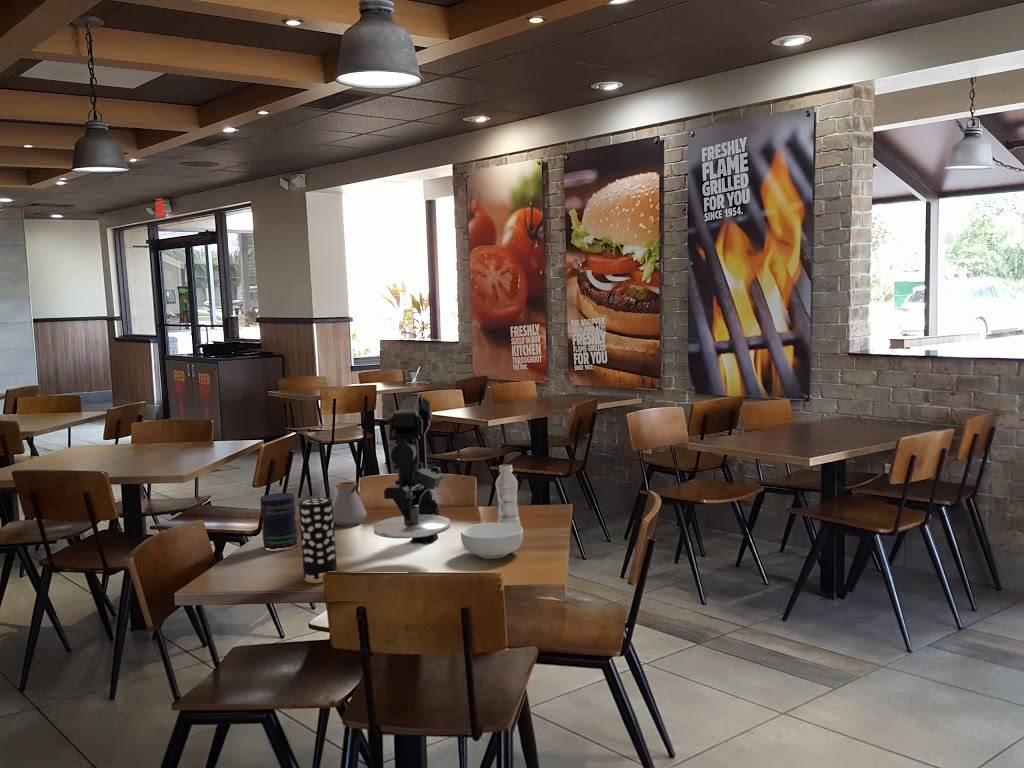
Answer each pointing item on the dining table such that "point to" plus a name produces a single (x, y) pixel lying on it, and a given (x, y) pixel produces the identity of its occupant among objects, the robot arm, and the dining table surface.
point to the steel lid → (412, 525)
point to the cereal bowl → (492, 539)
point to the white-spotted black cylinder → (317, 537)
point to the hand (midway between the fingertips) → (411, 518)
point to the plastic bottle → (507, 495)
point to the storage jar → (279, 520)
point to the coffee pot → (348, 505)
